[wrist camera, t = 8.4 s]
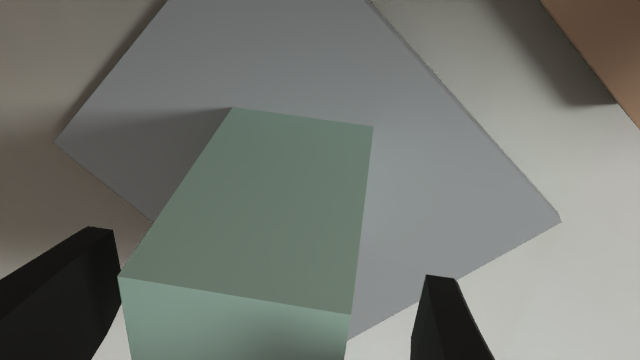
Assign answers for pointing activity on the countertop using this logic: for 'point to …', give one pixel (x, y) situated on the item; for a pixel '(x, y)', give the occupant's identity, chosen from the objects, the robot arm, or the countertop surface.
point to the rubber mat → (321, 103)
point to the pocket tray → (606, 43)
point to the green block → (254, 246)
